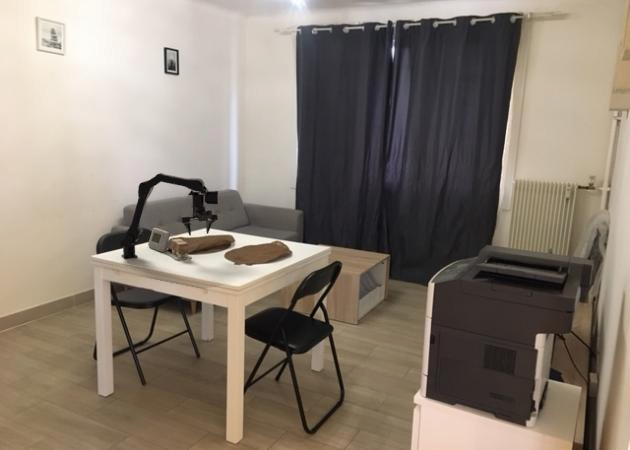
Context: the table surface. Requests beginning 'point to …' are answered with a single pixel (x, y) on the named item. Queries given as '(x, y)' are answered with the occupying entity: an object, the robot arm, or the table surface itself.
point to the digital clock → (159, 240)
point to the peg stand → (179, 256)
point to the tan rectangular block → (179, 246)
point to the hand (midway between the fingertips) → (198, 234)
